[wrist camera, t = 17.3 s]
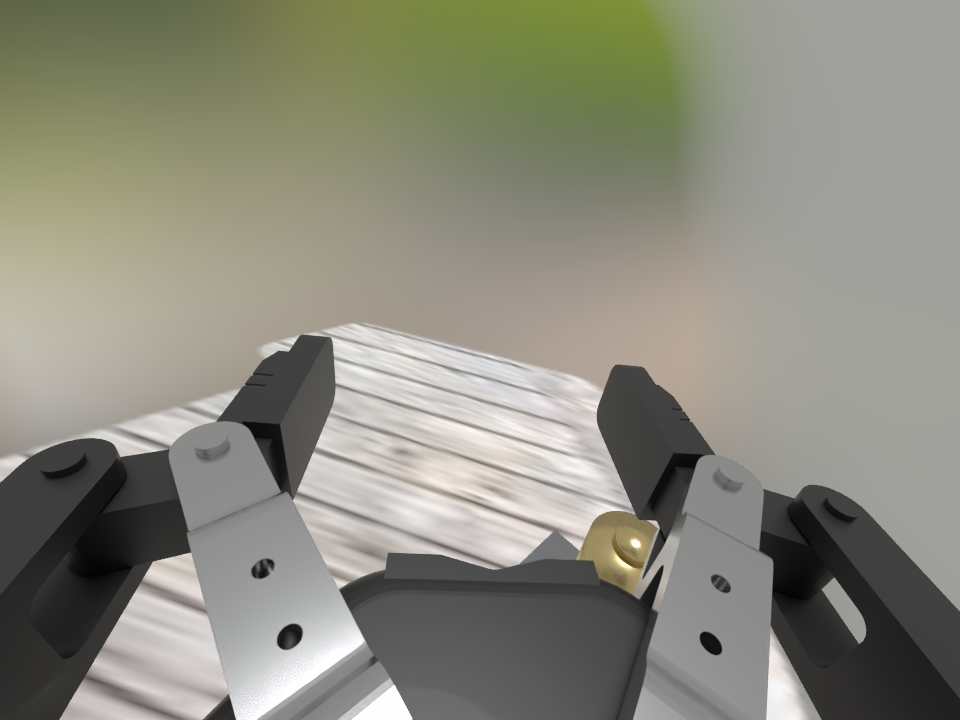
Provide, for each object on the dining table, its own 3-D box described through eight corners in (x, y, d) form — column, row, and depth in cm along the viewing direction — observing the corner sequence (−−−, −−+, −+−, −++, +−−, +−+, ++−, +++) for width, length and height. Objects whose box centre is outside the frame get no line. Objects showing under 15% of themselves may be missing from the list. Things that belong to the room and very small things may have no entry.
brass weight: (592, 702, 26) (663, 604, 20) (532, 636, 29) (576, 532, 22) (629, 644, 29) (700, 543, 23) (572, 590, 32) (621, 487, 26)
